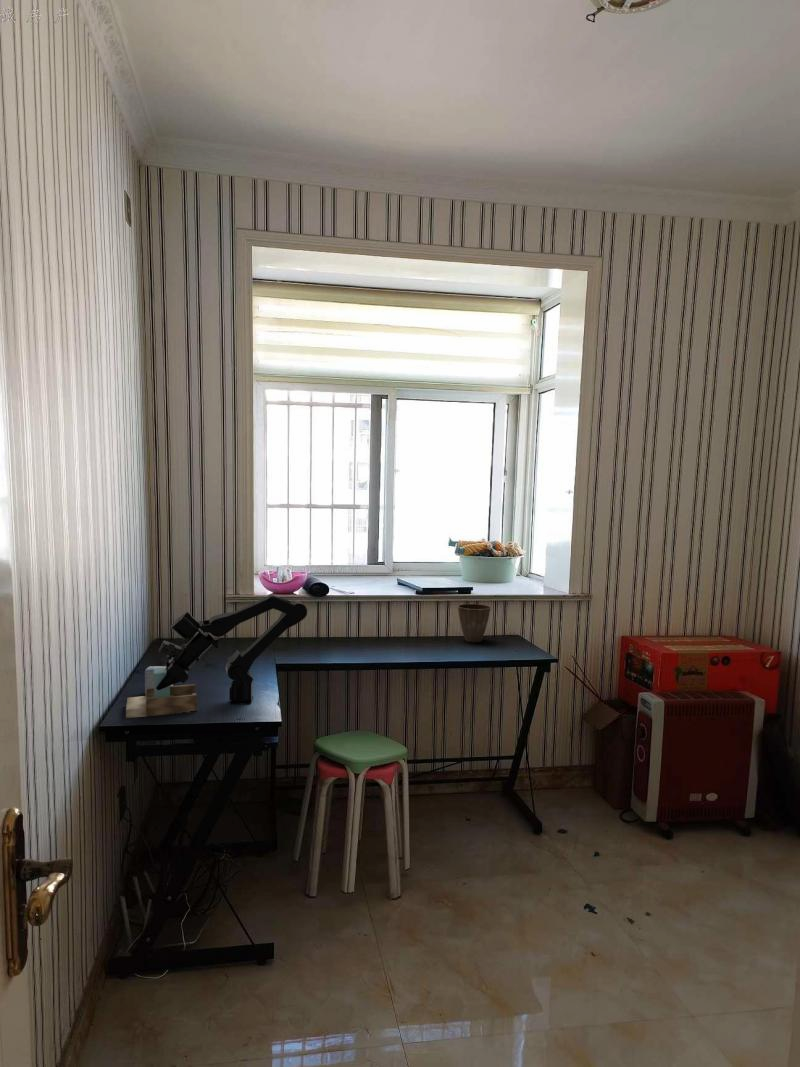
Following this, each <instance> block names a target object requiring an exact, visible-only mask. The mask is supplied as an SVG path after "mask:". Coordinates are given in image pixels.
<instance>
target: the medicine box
mask: <svg viewBox="0 0 800 1067" xmlns="http://www.w3.org/2000/svg"><path fill="white" fill-rule="evenodd" d="M165 668H166V665H163V666H162V665H161V666H159V665H158V666H155V665H154V666H153V665H152V666H151V665H150V666H148V667H147V668H145V670H144V694H145V695H144V696H147V688H154V670H164V669H165ZM170 686H174V684H173V685H170Z"/></svg>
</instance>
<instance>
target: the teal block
mask: <svg viewBox="0 0 800 1067" xmlns="http://www.w3.org/2000/svg"><path fill="white" fill-rule="evenodd" d="M166 673H167V669H164V670H154V698H160V697H170V686H168V687H166V688H163V689H161V690H157V689H156V687H157V686H158V684H159V683H160V682H161V680H162V679H163V677H164V676H165V675H166Z"/></svg>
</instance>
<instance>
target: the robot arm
mask: <svg viewBox="0 0 800 1067" xmlns="http://www.w3.org/2000/svg"><path fill="white" fill-rule="evenodd" d="M271 610H276V611H279V612H281V613H280V615H279V616H278V618H277V620H276V621H275V622H273V623H272V625H270V626H269V627H268V628H267V629H266V630H265V631H264V632H263V633H262V634H261V635H260V636H259V637H258V638H257V639H256V640H254V642H253V643H252V644H251V645H249V646H248V647H247V648H246V649H245V650H243V651H241V652H240V651H239V650H238V649H237V650H235V651H234V652H233V654H232V655H231V656H230V657H227V662H226V663H225V671H226V674H227V676H228V678H229V679H230V680H232V681H231V685H230V687H229V694H228V695H229V701H230V702H229V704H230V705H245V704H246V705H249V704H250V705H251V704H252V703H253V700H254V695H253V682H254V678H253V676H252V674H251V672H250V670H251V668H252V666H253V664H254V662H255V661H256V659H258V658H259V657H260V656H261V655H262V654H263V653H264V652H265V651H266V650H267V649H268V648H269V647H270V646H271V645H272V644H273V643H274V642H275V641H277V639H278V638H280V636H282V635H283V634H284V633H285V632H286V631H287V630H288V629H290V628H292V627H294V626H296V625H297V624H299V623H300V622H302V621H304V620H305V619H306V617H307V616H308V608H307V606H305V604H303V603H302V602H301V601H299V600H287V599H285V598H282V597H279V596H277V595H274V594H269V595H268V596H266V597H264V598H262V599H260V600H257V601H255V602H253V603H250V604H248V605H246V606H243V607H241V608H239V609H237V610H235V611H230V612H225V613H220V614H216V615H213V616H212V617H210V618H209V619H205V620H200V621H197V619H195V617H193V616H192V615H191V613H190V612H189V611H186V612H185V613H183V614H181V615H180V616H179V617H177V618H176V619H175V620H174V621H173V622H172V624H171V625H170V628H171V630H173V632H175V633H176V634H177V635H178V636H180V637H181V638H182V639H183V640H186V639H187V640H189V641H188V642H187V643H183V644H182V645H181V646H180V645H177V644H175V643H173V642H170V641H167V640H163V641H162V643H161V645H160V647H159V648H158V653H159V654H162V655H165V656H166V658H167V659H166V660H165V666H166V668H165V669H167V673H166V675H165V676H164V677H163V679H162V680H161V682H160V683H159V684H158V686H157V687H156V689H157V690H161V689H163V688H166V687H168V686H170V685H173V686H174V685H175V684H177V683H182V684H185V683H186V682H187V680H188V679H189V671H190V670H191V669H190V668H191V667H192V666H193V665H194V664H195V663H196V662H199V660H200V658H201V656H202V655H203V654H205V652H207V650H208V649H209V648H211V646H214V648H215V649H219V641H220V639H219V638H220V637H223V636H225V635H227V634H228V633H229V632H231V631H232V630H234V628H236V627H237V626H238V625H241V624H242V623H244V622H246V621H248V620H251V619H253V618H255V617H257V616H260V615H261V614H264V613H266V612H268V611H271ZM215 637H216V638H215Z"/></svg>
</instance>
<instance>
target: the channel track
mask: <svg viewBox="0 0 800 1067" xmlns="http://www.w3.org/2000/svg"><path fill="white" fill-rule="evenodd" d="M190 711H197V712H198V694H197V693H196V684H194V683H193V684H182V685H173V686H170V697H160V698H154V688H147V695H142V696H130V697H127V699H126V708H125V718H126V719H132V718H140V717H141V718H143V717H152V716H163V715H172V714H175V713H176V714H183V713H182V712H186V713H191V712H190Z"/></svg>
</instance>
